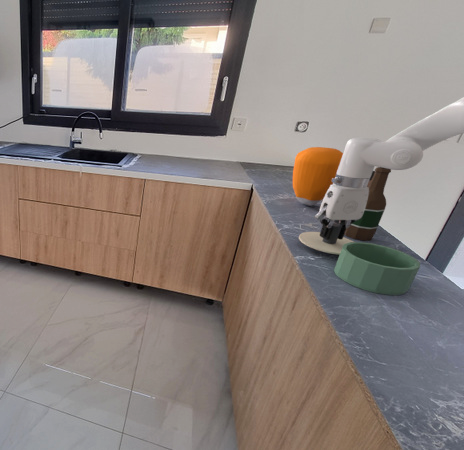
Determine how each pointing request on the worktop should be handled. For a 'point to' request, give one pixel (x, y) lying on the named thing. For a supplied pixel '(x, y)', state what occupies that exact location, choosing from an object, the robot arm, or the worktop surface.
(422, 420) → the worktop surface
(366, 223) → the beer bottle
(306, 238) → the lid
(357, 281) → the green round bowl
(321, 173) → the orange egg-shaped ornament
